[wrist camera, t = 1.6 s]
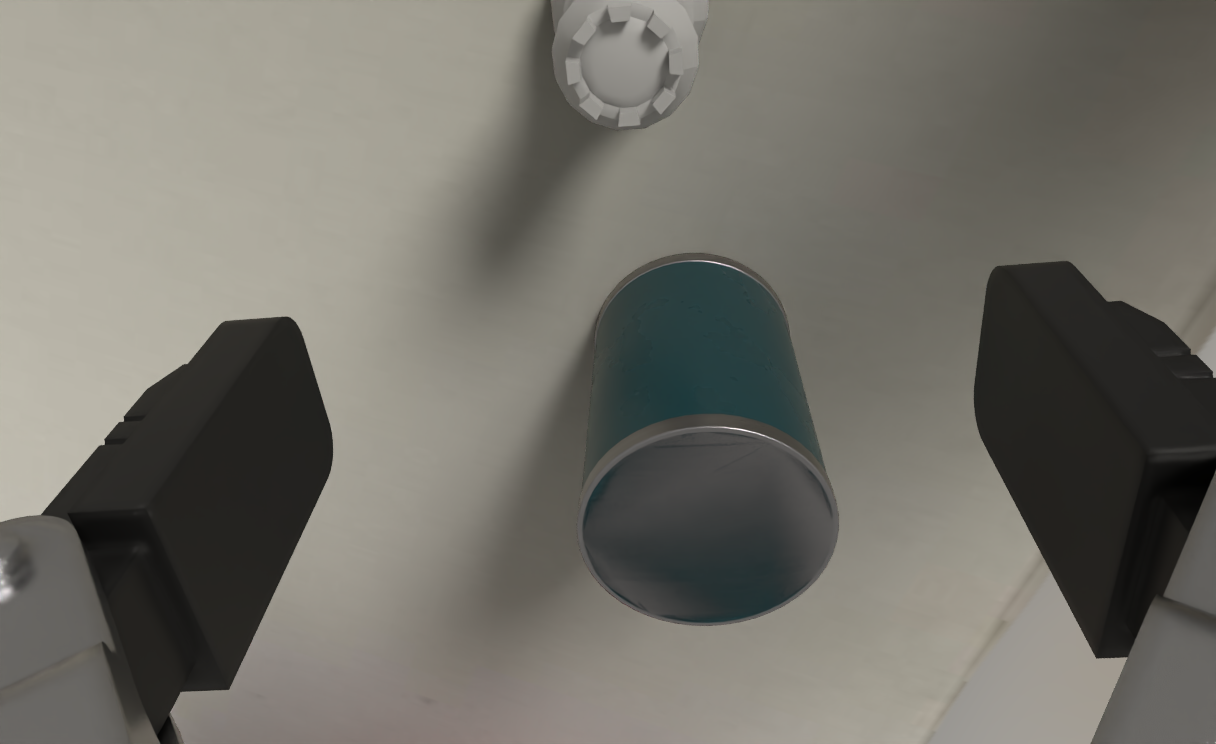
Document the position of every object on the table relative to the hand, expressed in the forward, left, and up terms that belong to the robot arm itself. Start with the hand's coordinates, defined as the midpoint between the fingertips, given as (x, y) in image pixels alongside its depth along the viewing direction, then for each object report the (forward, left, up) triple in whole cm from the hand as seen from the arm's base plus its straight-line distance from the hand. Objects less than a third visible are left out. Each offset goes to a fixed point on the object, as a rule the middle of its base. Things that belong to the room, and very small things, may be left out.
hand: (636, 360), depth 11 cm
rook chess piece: (0, -1, -19) cm, 19 cm away
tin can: (+7, +8, -19) cm, 22 cm away
